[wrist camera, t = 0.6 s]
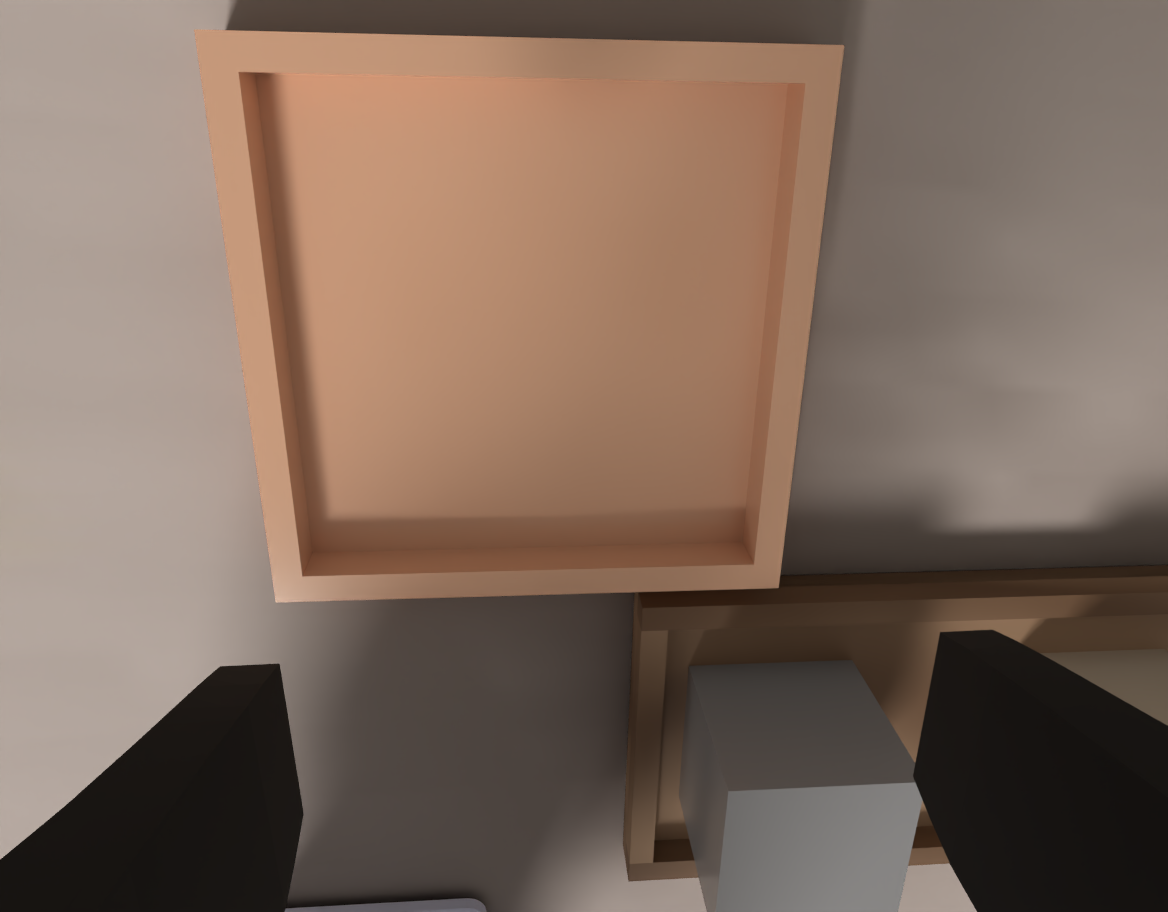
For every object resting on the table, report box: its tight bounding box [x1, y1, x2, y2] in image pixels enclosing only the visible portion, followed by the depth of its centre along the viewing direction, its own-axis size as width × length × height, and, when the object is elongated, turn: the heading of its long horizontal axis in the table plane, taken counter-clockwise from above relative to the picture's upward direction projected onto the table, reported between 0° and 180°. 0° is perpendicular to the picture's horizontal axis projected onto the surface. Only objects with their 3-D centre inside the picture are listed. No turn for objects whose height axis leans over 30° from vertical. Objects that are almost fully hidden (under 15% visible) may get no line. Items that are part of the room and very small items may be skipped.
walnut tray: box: [623, 565, 1168, 881], centre depth 22 cm, size 8×15×1 cm, turn 89°
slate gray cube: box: [679, 660, 922, 912], centre depth 19 cm, size 4×4×4 cm
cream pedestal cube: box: [1040, 649, 1168, 725], centre depth 20 cm, size 4×4×4 cm
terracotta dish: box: [194, 30, 844, 603], centre depth 17 cm, size 11×11×2 cm
